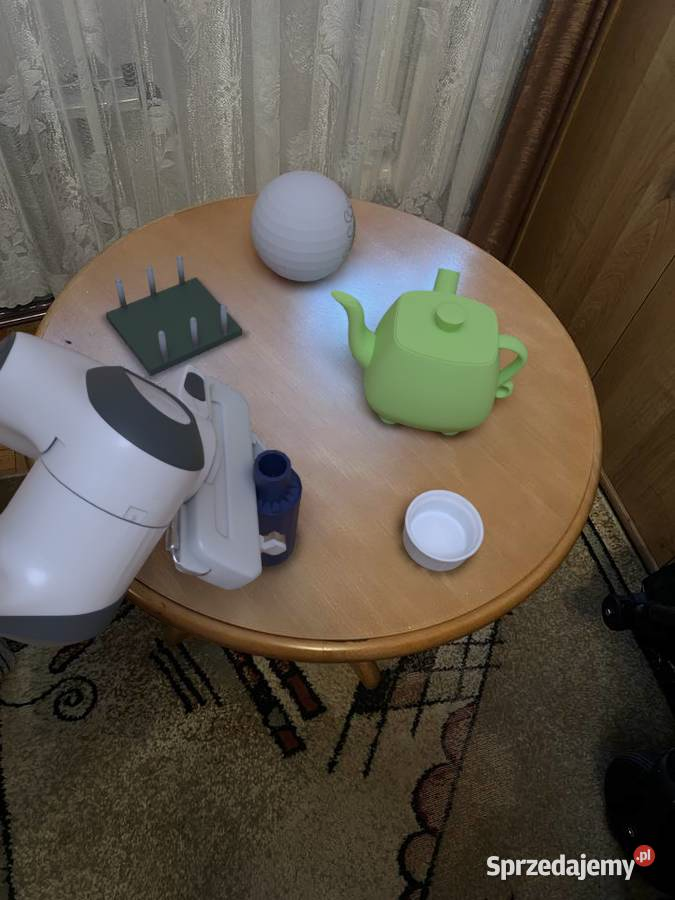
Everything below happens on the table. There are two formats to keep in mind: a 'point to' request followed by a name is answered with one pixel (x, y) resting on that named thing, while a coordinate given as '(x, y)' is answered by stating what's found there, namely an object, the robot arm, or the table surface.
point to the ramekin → (441, 530)
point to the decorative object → (303, 225)
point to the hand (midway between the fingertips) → (276, 503)
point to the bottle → (277, 500)
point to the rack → (172, 322)
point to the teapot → (433, 358)
